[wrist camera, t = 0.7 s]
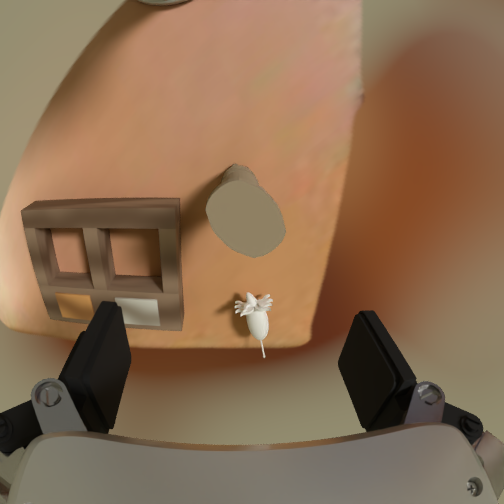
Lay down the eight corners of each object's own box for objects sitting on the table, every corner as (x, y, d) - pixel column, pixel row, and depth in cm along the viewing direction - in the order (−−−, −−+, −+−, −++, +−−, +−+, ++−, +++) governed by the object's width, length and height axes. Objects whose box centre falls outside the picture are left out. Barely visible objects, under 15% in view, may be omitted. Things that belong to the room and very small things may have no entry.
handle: (240, 207, 37) (250, 268, 24) (204, 170, 34) (192, 211, 21) (269, 182, 36) (298, 230, 23) (235, 143, 33) (242, 167, 20)
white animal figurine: (231, 286, 42) (232, 307, 38) (268, 279, 42) (273, 299, 38) (245, 344, 48) (248, 365, 44) (277, 338, 48) (282, 359, 44)
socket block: (35, 200, 33) (19, 211, 29) (179, 197, 36) (174, 209, 32) (59, 304, 41) (49, 320, 38) (184, 313, 44) (181, 332, 40)
